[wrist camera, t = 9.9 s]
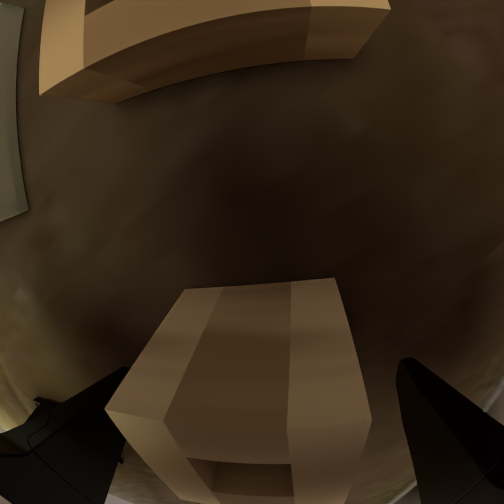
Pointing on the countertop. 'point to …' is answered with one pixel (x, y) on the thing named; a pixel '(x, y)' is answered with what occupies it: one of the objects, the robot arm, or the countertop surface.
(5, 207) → the tray
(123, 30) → the oak block
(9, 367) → the countertop surface
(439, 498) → the robot arm
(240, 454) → the beech block
